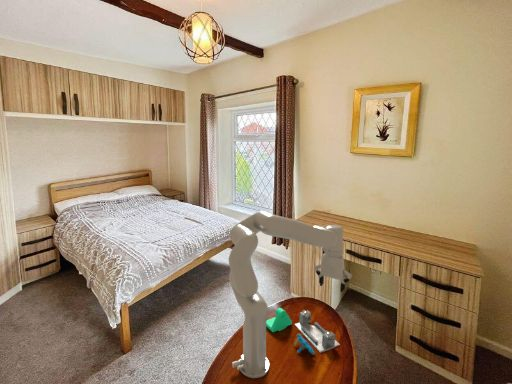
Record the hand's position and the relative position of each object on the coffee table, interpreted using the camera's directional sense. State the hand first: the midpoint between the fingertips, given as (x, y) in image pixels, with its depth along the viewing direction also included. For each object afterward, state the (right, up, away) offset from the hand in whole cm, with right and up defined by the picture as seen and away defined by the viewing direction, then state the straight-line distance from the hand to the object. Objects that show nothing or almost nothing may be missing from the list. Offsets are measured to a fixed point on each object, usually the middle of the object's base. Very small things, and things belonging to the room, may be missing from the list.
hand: (331, 287), depth 122 cm
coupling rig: (-6, -25, +6) cm, 27 cm away
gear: (-11, -28, -4) cm, 30 cm away
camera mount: (-24, -25, +13) cm, 37 cm away
